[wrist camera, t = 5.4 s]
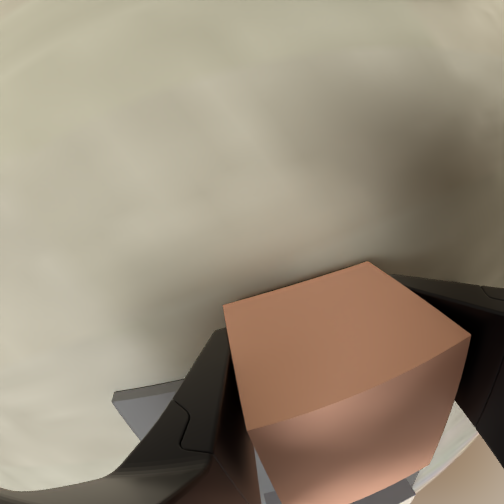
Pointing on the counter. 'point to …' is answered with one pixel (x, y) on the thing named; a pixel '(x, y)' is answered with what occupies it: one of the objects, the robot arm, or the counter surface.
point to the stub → (344, 382)
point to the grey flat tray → (158, 397)
